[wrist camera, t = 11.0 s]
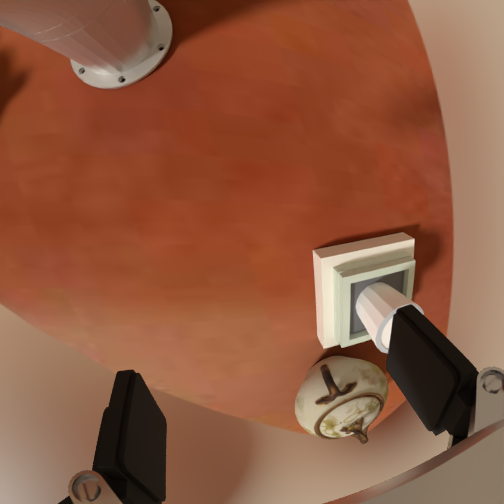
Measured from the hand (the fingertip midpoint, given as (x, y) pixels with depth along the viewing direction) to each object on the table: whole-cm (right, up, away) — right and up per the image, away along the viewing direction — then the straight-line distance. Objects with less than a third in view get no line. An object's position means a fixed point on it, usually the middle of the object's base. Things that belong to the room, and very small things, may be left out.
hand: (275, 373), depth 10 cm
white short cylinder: (+15, -2, +28) cm, 31 cm away
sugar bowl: (+12, -16, +37) cm, 43 cm away
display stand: (+15, -1, +32) cm, 35 cm away
